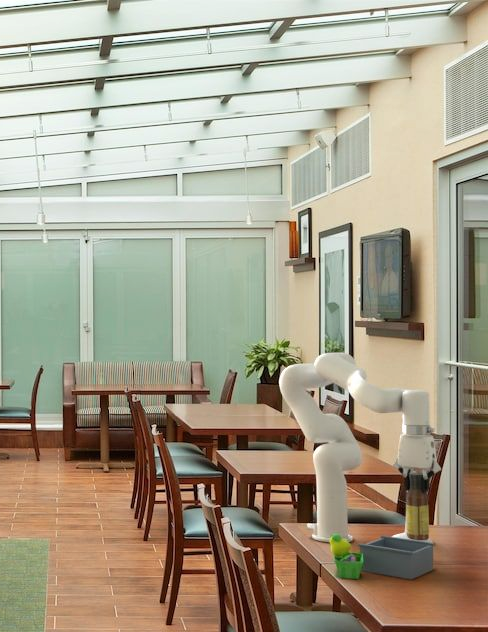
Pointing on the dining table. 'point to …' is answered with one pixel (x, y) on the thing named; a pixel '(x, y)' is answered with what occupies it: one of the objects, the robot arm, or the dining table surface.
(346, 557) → the fruit basket
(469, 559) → the dining table surface
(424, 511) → the sauce bottle
